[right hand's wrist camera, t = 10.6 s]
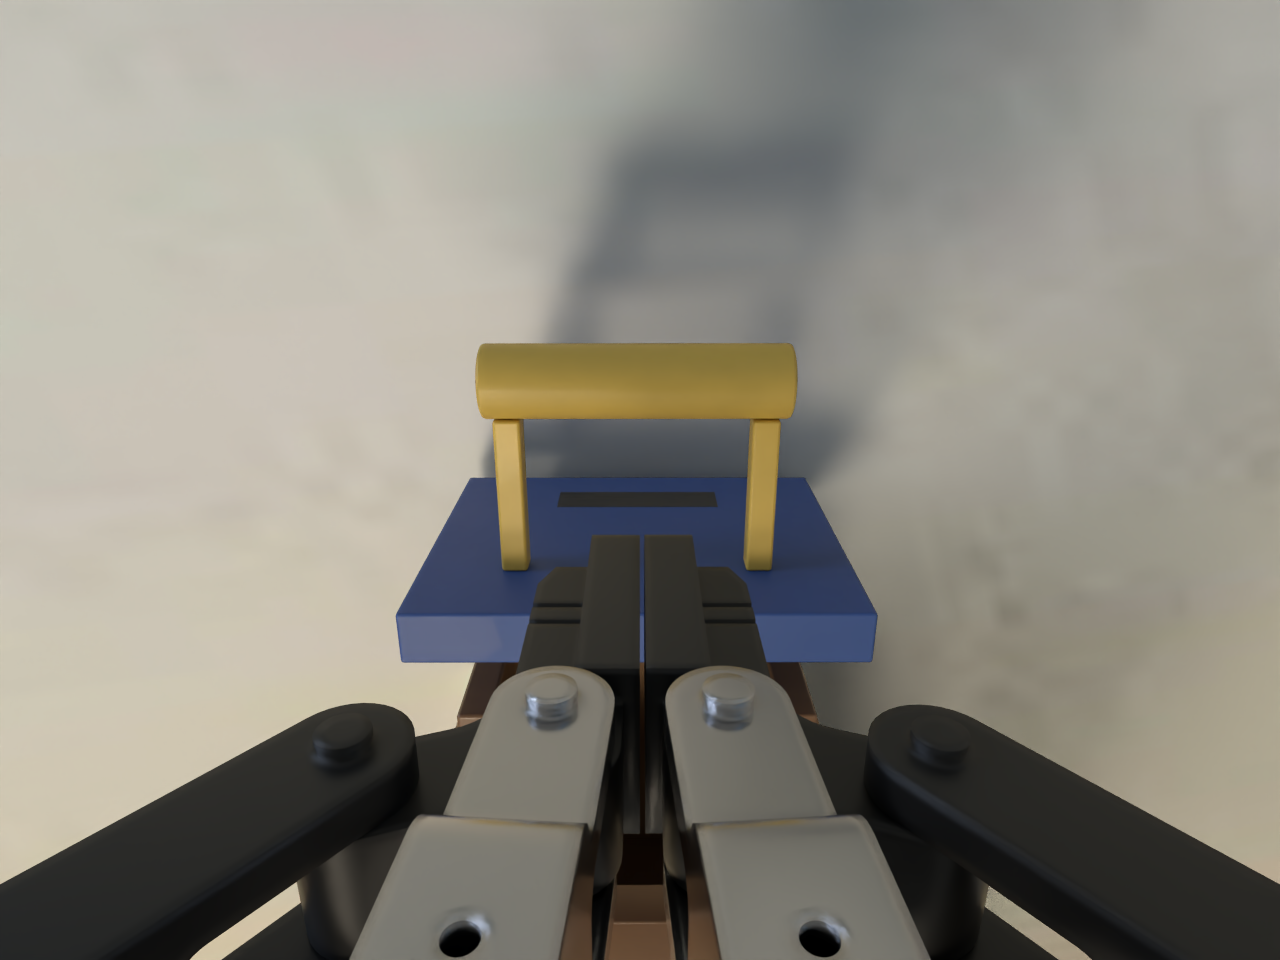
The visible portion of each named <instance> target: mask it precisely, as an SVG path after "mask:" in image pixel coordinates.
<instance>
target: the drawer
mask: <svg viewBox="0 0 1280 960" xmlns="http://www.w3.org/2000/svg"><path fill="white" fill-rule="evenodd" d="M475 382H476V396H477V403H478V408H479V411H480V414H481V416H482V417H483V418H485V419H494V421H493V423H492V425H493V440H494V455H495V469H496V478H470V480H469V481H468V483H467V485H466V487H465V489H464V491H463V492H462V494H461V496H460V498H459V500H458V502H457V504H456V505H455V507H454V509H453V511H452V513H451V515H450V516H449V518H448V520H447V522H446V524H445V526H444V527H443V529H442V531H441V533H440V535H439V537H438V538H437V540H436V542H435V544H434V546H433V548H432V549H431V551H430V553H429V555H428V557H427V559H426V560H425V562H424V564H423V566H422V568H421V570H420V571H419V573H418V575H417V577H416V579H415V581H414V582H413V584H412V586H411V588H410V590H409V592H408V593H407V595H406V597H405V599H404V601H403V603H402V604H401V606H400V608H399V610H398V612H397V614H396V622H397V630H398V638H399V647H400V655H401V661H402V662H475V664H474V667H473V670H472V673H471V676H470V679H469V682H468V685H467V688H466V691H465V694H464V697H463V700H462V703H461V706H460V709H459V712H458V715H457V721H458V727H461V726H464V725H467V724H470V723H472V722H475V721H477V720H479V719H481V718H482V717H483V715H484V712H485V710H486V707H487V705H488V702H489V700H490V698H491V696H492V694H493V692H494V691H495V690H496V689H497V688H498V686H500V685H501V684H502V683H503V682H504V681H506V680H507V679H509V678H511V677H512V676H514V675H516V671H517V667H518V663H519V659H520V655H521V651H522V646H523V642H524V638H525V634H526V630H527V626H528V624H529V618H530V614H531V610H532V607H533V601H534V597H535V593H536V589H537V585H538V583H539V582H540V581H541V580H542V579H543V578H545V577H546V576H547V575H548V574H549V573H550V572H551V571H552V570H553V569H554V568H555V567H588V560H589V553H590V545H591V538H592V535H640V834H623V854H622V862H621V865H620V868H619V871H618V872H617V885H663V833H645V720H644V535H692V536H693V543H694V550H695V557H696V564H697V567H729V568H730V569H731V570H732V571H733V572H734V573H736V574H737V575H738V576H739V577H740V578H741V579H742V580H743V581H744V582H745V583H746V584H747V587H748V591H749V595H750V599H751V603H752V607H753V611H754V615H755V619H756V624H757V627H758V630H759V634H760V638H761V642H762V646H763V650H764V654H765V658H766V662H767V666H768V670H769V674H770V677H771V679H773V680H774V681H776V682H777V683H778V684H779V685H780V686H782V688H783V689H784V690H785V691H786V692H787V694H788V696H789V698H790V700H791V702H792V705H793V707H794V710H795V712H796V713H797V714H798V715H800V716H802V717H804V718H806V719H808V720H810V721H812V722H814V723H817V714H816V711H815V708H814V705H813V701H812V698H811V695H810V692H809V689H808V686H807V683H806V680H805V677H804V674H803V671H802V667H801V664H800V662H871V661H872V659H873V651H874V642H875V634H876V625H877V616H878V615H877V613H876V611H875V609H874V607H873V605H872V603H871V601H870V599H869V598H868V596H867V594H866V592H865V590H864V588H863V586H862V584H861V582H860V581H859V579H858V577H857V575H856V573H855V571H854V569H853V567H852V566H851V564H850V562H849V560H848V558H847V556H846V554H845V552H844V550H843V549H842V547H841V545H840V543H839V541H838V539H837V537H836V535H835V534H834V532H833V530H832V528H831V526H830V524H829V522H828V520H827V518H826V517H825V515H824V513H823V511H822V509H821V507H820V505H819V503H818V502H817V500H816V498H815V496H814V494H813V492H812V490H811V488H810V486H809V485H808V483H807V481H806V479H805V478H777V477H778V461H779V445H780V429H781V422H780V420H779V419H787V418H790V417H791V416H792V414H793V411H794V408H795V403H796V395H797V360H796V354H795V350H794V347H793V345H791V344H789V343H516V344H482V345H481V346H480V348H479V350H478V354H477V359H476V371H475ZM523 419H750V434H749V454H748V474H747V478H526V462H525V444H524V425H523Z"/></svg>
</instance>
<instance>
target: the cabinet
mask: <svg viewBox="0 0 1280 960" xmlns="http://www.w3.org/2000/svg"><path fill="white" fill-rule="evenodd" d="M802 671H803V669H802ZM803 674H804V672H803ZM804 677H805V675H804ZM805 680H806V678H805ZM806 683H807V682H806ZM817 724H819V722H818V719H817ZM457 727H458V722H457V725H456V728H457ZM609 960H671V955H670V947H669V939H668V931H667V923H666V914H665V906H664V898H663V885H617V898H616V906H615V914H614V923H613V931H612V939H611V947H610V955H609Z"/></svg>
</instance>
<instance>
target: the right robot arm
mask: <svg viewBox="0 0 1280 960" xmlns="http://www.w3.org/2000/svg"><path fill="white" fill-rule="evenodd" d="M644 720H645V833H663V898H664V906H665V914H666V923H667V931H668V939H669V947H670V955H671V960H1058V959H1057V958H1055V957H1054V956H1053V955H1051V954H1050V953H1048V952H1047V951H1046V950H1044V949H1043V948H1041V947H1040V946H1039V945H1037V944H1036V943H1034V942H1033V941H1032V940H1030V939H1029V938H1027V937H1026V936H1025V935H1023V934H1022V933H1020V932H1019V931H1018V930H1016V929H1015V928H1014V927H1012V926H1011V925H1009V924H1008V923H1007V922H1005V921H1004V920H1002V919H1001V918H1000V917H998V916H997V915H995V914H994V913H993V912H991V911H990V910H988V909H987V908H986V907H985V902H986V897H987V892H988V887H989V886H990V887H992V888H993V889H995V890H996V891H997V892H999V893H1000V894H1002V895H1003V896H1005V897H1006V898H1008V899H1009V900H1010V901H1012V902H1013V903H1015V904H1016V905H1018V906H1019V907H1021V908H1022V909H1023V910H1025V911H1026V912H1028V913H1029V914H1031V915H1032V916H1033V917H1035V918H1036V919H1038V920H1039V921H1041V922H1042V923H1044V924H1045V925H1046V926H1048V927H1049V928H1051V929H1052V930H1054V931H1055V932H1057V933H1058V934H1059V935H1061V936H1062V937H1064V938H1065V939H1067V940H1068V941H1069V942H1071V943H1072V944H1074V945H1075V946H1077V947H1078V948H1079V949H1081V950H1082V951H1083V952H1085V953H1086V954H1087V955H1088V956H1089V957H1090V958H1091V959H1092V960H1280V884H1278V883H1276V882H1274V881H1272V880H1271V879H1269V878H1267V877H1265V876H1263V875H1261V874H1260V873H1258V872H1256V871H1254V870H1252V869H1250V868H1248V867H1247V866H1245V865H1243V864H1241V863H1239V862H1237V861H1236V860H1234V859H1232V858H1230V857H1228V856H1226V855H1224V854H1223V853H1221V852H1219V851H1217V850H1215V849H1213V848H1212V847H1210V846H1208V845H1206V844H1204V843H1202V842H1200V841H1199V840H1197V839H1195V838H1193V837H1191V836H1189V835H1188V834H1186V833H1184V832H1182V831H1180V830H1178V829H1176V828H1175V827H1173V826H1171V825H1169V824H1167V823H1165V822H1164V821H1162V820H1160V819H1158V818H1156V817H1154V816H1152V815H1151V814H1149V813H1147V812H1145V811H1143V810H1141V809H1140V808H1138V807H1136V806H1134V805H1132V804H1130V803H1128V802H1127V801H1125V800H1123V799H1121V798H1119V797H1117V796H1116V795H1114V794H1112V793H1110V792H1108V791H1106V790H1104V789H1103V788H1101V787H1099V786H1097V785H1095V784H1093V783H1092V782H1090V781H1088V780H1086V779H1084V778H1082V777H1080V776H1079V775H1077V774H1075V773H1073V772H1071V771H1069V770H1068V769H1066V768H1064V767H1062V766H1060V765H1058V764H1056V763H1055V762H1053V761H1051V760H1049V759H1047V758H1045V757H1044V756H1042V755H1040V754H1038V753H1036V752H1034V751H1032V750H1031V749H1029V748H1027V747H1025V746H1023V745H1021V744H1020V743H1018V742H1016V741H1014V740H1012V739H1010V738H1008V737H1007V736H1005V735H1003V734H1001V733H999V732H997V731H996V730H994V729H992V728H990V727H988V726H986V725H984V724H983V723H981V722H979V721H977V720H975V719H973V718H971V717H969V716H967V715H964V714H962V713H959V712H956V711H953V710H950V709H946V708H942V707H936V706H930V705H906V706H899V707H896V708H892V709H889V710H887V711H885V712H883V713H881V714H880V715H879V716H878V717H876V718H875V720H874V721H873V722H872V723H871V726H870V729H869V733H868V736H865V735H861V734H856V733H851V732H847V731H842V730H837V729H833V728H830V727H826V726H823V725H820V724H817V723H814V722H812V721H810V720H808V719H806V718H804V717H802V716H800V715H798V714H797V713H796V712H795V710H794V707H793V705H792V702H791V700H790V698H789V696H788V694H787V692H786V691H785V690H784V689H783V688H782V686H780V685H779V684H778V683H777V682H776V681H774V680H773V679H771V677H770V674H769V670H768V666H767V662H766V658H765V654H764V650H763V646H762V642H761V638H760V634H759V630H758V627H757V624H756V619H755V615H754V611H753V607H752V603H751V599H750V595H749V591H748V587H747V584H746V583H745V582H744V581H743V580H742V579H741V578H740V577H739V576H738V575H737V574H736V573H734V572H733V571H732V570H731V569H730V568H729V567H697V564H696V557H695V550H694V543H693V536H692V535H644ZM623 834H640V535H592V538H591V545H590V553H589V560H588V567H555V568H554V569H553V570H552V571H551V572H550V573H549V574H548V575H547V576H546V577H545V578H543V579H542V580H541V581H540V582H539V583H538V585H537V589H536V593H535V597H534V601H533V607H532V610H531V614H530V618H529V624H528V626H527V630H526V634H525V638H524V642H523V646H522V651H521V655H520V659H519V663H518V667H517V671H516V675H514V676H512V677H511V678H509V679H507V680H506V681H504V682H503V683H502V684H501V685H500V686H498V688H497V689H496V690H495V691H494V692H493V694H492V696H491V698H490V700H489V702H488V705H487V707H486V710H485V712H484V715H483V717H482V718H481V719H479V720H477V721H475V722H472V723H470V724H467V725H464V726H461V727H457V728H454V729H450V730H445V731H441V732H436V733H431V734H427V735H422V736H418V737H415V731H414V727H413V724H412V722H411V720H410V719H409V718H408V717H407V716H406V715H405V714H404V713H403V712H401V711H399V710H397V709H395V708H393V707H390V706H386V705H382V704H375V703H358V704H349V705H343V706H338V707H335V708H331V709H328V710H325V711H322V712H319V713H317V714H315V715H313V716H311V717H309V718H307V719H305V720H303V721H301V722H299V723H297V724H296V725H294V726H292V727H290V728H288V729H286V730H284V731H283V732H281V733H279V734H277V735H275V736H273V737H272V738H270V739H268V740H266V741H264V742H262V743H260V744H259V745H257V746H255V747H253V748H251V749H249V750H248V751H246V752H244V753H242V754H240V755H238V756H236V757H235V758H233V759H231V760H229V761H227V762H225V763H224V764H222V765H220V766H218V767H216V768H214V769H212V770H211V771H209V772H207V773H205V774H203V775H201V776H200V777H198V778H196V779H194V780H192V781H190V782H188V783H187V784H185V785H183V786H181V787H179V788H177V789H176V790H174V791H172V792H170V793H168V794H166V795H164V796H163V797H161V798H159V799H157V800H155V801H153V802H152V803H150V804H148V805H146V806H144V807H142V808H140V809H139V810H137V811H135V812H133V813H131V814H129V815H128V816H126V817H124V818H122V819H120V820H118V821H116V822H115V823H113V824H111V825H109V826H107V827H105V828H104V829H102V830H100V831H98V832H96V833H94V834H92V835H91V836H89V837H87V838H85V839H83V840H81V841H80V842H78V843H76V844H74V845H72V846H70V847H68V848H67V849H65V850H63V851H61V852H59V853H57V854H56V855H54V856H52V857H50V858H48V859H46V860H44V861H43V862H41V863H39V864H37V865H35V866H33V867H32V868H30V869H28V870H26V871H24V872H22V873H20V874H19V875H17V876H15V877H13V878H11V879H9V880H8V881H6V882H4V883H2V884H0V960H190V959H191V958H192V956H193V955H195V954H196V953H197V952H198V951H199V950H200V949H201V948H202V947H204V946H205V945H206V944H208V943H209V942H211V941H212V940H213V939H215V938H216V937H218V936H219V935H221V934H222V933H224V932H225V931H226V930H228V929H229V928H231V927H232V926H234V925H235V924H236V923H238V922H239V921H241V920H242V919H244V918H245V917H247V916H248V915H249V914H251V913H252V912H254V911H255V910H257V909H258V908H260V907H261V906H262V905H264V904H265V903H267V902H268V901H270V900H271V899H272V898H274V897H275V896H277V895H278V894H280V893H281V892H283V891H284V890H285V889H287V888H288V887H290V886H291V885H293V884H294V883H295V882H297V885H298V890H299V895H300V901H301V903H300V904H299V905H297V906H296V907H294V908H293V909H292V910H290V911H289V912H287V913H286V914H285V915H283V916H282V917H280V918H279V919H278V920H276V921H275V922H273V923H272V924H271V925H269V926H268V927H267V928H265V929H264V930H262V931H261V932H260V933H258V934H257V935H255V936H254V937H253V938H251V939H250V940H248V941H247V942H246V943H244V944H243V945H241V946H240V947H239V948H237V949H236V950H234V951H233V952H232V953H230V954H229V955H228V956H226V957H225V958H223V959H222V960H609V955H610V947H611V939H612V931H613V923H614V914H615V906H616V898H617V872H618V871H619V868H620V865H621V862H622V854H623Z"/></svg>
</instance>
